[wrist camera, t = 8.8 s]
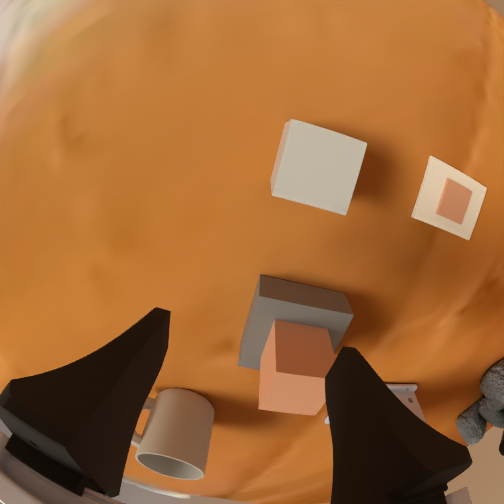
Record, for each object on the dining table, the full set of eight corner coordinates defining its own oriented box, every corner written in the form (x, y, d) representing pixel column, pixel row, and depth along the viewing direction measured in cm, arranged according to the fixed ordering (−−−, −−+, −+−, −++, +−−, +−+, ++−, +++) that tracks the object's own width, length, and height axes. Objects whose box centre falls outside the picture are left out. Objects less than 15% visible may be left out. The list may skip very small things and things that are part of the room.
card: (484, 187, 17) (488, 188, 16) (467, 239, 19) (470, 241, 18) (429, 155, 17) (433, 156, 16) (410, 216, 19) (414, 218, 18)
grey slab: (344, 293, 21) (354, 314, 19) (315, 354, 24) (319, 378, 22) (260, 274, 21) (259, 295, 18) (241, 341, 24) (238, 365, 21)
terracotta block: (308, 365, 21) (315, 415, 16) (260, 357, 21) (258, 409, 16) (327, 328, 19) (340, 379, 15) (274, 319, 19) (275, 371, 15)
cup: (201, 426, 31) (190, 483, 22) (130, 395, 29) (106, 451, 21) (225, 402, 28) (215, 470, 20) (142, 366, 26) (113, 431, 18)
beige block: (342, 140, 17) (367, 143, 12) (326, 195, 19) (345, 215, 14) (284, 123, 17) (291, 118, 12) (270, 180, 18) (272, 195, 14)
